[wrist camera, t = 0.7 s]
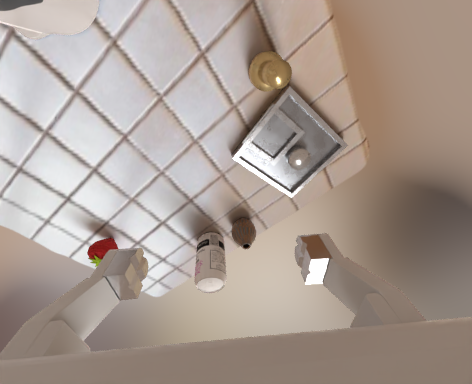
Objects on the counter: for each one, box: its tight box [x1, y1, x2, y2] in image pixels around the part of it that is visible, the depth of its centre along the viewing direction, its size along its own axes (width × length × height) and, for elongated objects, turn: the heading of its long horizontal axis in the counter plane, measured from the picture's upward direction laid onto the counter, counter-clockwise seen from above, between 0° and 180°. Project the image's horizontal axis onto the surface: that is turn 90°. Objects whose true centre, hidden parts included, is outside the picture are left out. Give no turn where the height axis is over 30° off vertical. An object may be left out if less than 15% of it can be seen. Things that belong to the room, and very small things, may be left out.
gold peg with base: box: [248, 51, 292, 91], centre depth 32 cm, size 6×6×10 cm
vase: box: [232, 218, 256, 249], centre depth 55 cm, size 7×7×9 cm
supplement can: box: [195, 232, 226, 293], centre depth 55 cm, size 8×8×15 cm
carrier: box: [232, 85, 348, 198], centre depth 44 cm, size 20×18×4 cm
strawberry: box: [87, 238, 118, 267], centre depth 52 cm, size 6×8×10 cm
